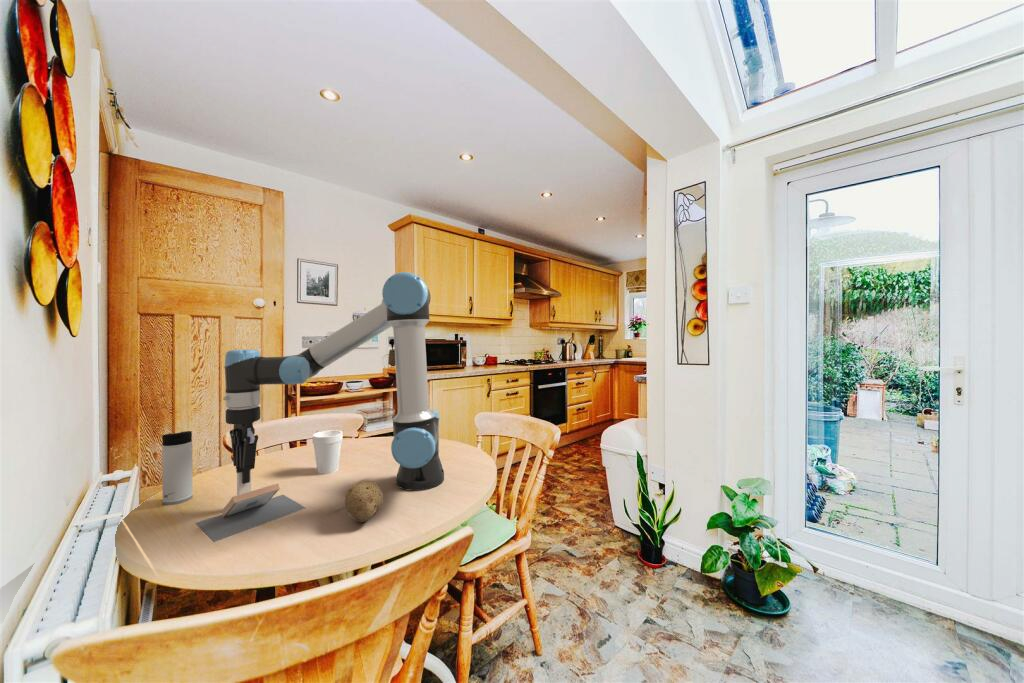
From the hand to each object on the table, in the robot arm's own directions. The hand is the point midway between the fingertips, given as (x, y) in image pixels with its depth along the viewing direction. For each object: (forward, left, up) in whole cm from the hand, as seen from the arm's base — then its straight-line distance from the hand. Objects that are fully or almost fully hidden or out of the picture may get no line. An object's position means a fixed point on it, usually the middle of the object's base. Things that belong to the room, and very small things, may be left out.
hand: (244, 493), depth 98 cm
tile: (-1, 0, -3) cm, 3 cm away
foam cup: (+10, -28, -5) cm, 30 cm away
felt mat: (-6, 0, -4) cm, 8 cm away
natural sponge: (-31, -16, -5) cm, 35 cm away
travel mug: (+21, +9, -5) cm, 23 cm away
